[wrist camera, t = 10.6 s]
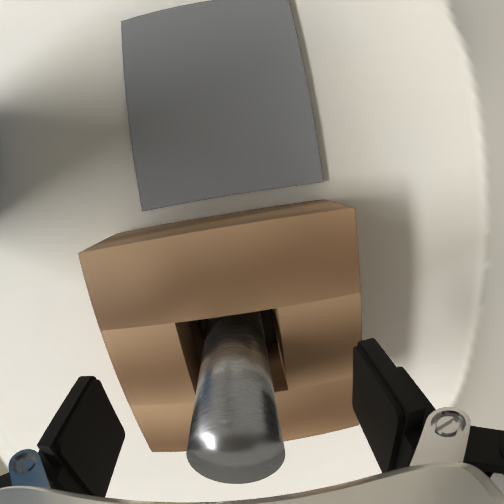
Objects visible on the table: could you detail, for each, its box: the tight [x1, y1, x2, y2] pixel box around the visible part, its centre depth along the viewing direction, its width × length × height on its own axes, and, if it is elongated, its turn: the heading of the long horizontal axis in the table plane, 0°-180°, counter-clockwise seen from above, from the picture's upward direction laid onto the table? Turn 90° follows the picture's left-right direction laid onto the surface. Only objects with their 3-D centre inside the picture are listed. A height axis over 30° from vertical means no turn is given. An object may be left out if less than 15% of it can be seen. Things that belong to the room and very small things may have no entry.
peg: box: [186, 311, 285, 484], centre depth 14 cm, size 3×3×11 cm
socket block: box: [78, 200, 362, 452], centre depth 17 cm, size 12×12×5 cm
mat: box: [121, 0, 323, 211], centre depth 16 cm, size 12×10×1 cm
